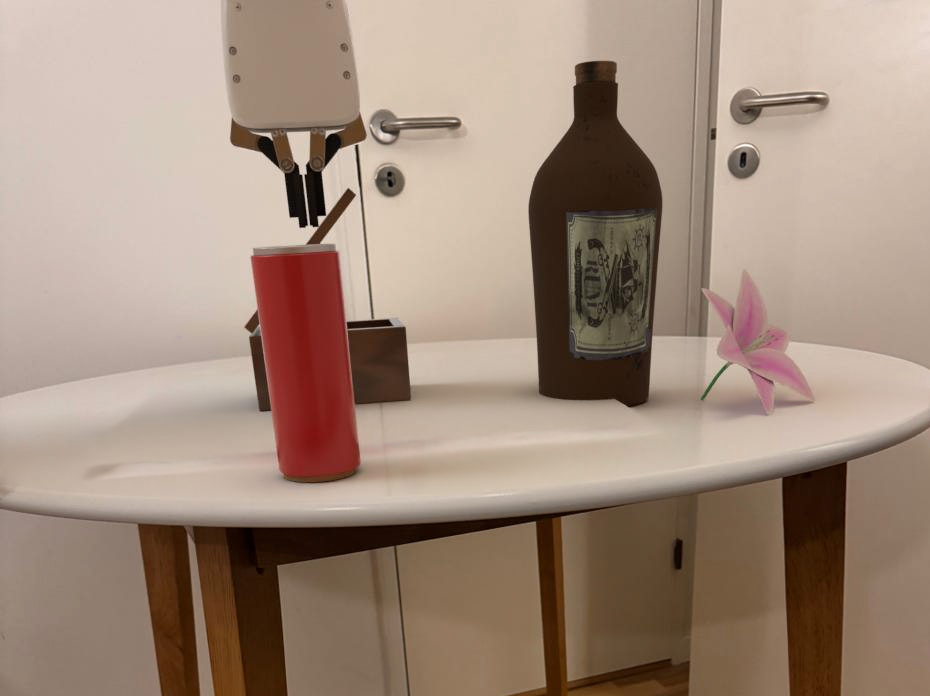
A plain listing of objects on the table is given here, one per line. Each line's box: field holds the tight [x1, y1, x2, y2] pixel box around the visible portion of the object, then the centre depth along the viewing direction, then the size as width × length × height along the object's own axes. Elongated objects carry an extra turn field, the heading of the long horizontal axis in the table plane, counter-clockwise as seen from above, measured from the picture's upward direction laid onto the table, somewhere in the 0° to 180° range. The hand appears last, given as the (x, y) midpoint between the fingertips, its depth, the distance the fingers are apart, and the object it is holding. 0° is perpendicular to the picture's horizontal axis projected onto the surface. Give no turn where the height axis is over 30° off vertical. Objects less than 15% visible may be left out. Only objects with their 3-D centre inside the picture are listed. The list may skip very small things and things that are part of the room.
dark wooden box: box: [248, 317, 412, 413], centre depth 82 cm, size 13×8×7 cm, turn 99°
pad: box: [282, 467, 358, 483], centre depth 61 cm, size 5×5×1 cm
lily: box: [700, 268, 816, 416], centre depth 75 cm, size 12×12×10 cm
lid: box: [243, 187, 357, 334], centre depth 78 cm, size 14×8×1 cm
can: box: [249, 243, 362, 477], centre depth 58 cm, size 5×5×13 cm
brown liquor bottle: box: [527, 60, 664, 407], centre depth 75 cm, size 11×11×25 cm
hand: (309, 226), depth 77 cm, fingers closed
